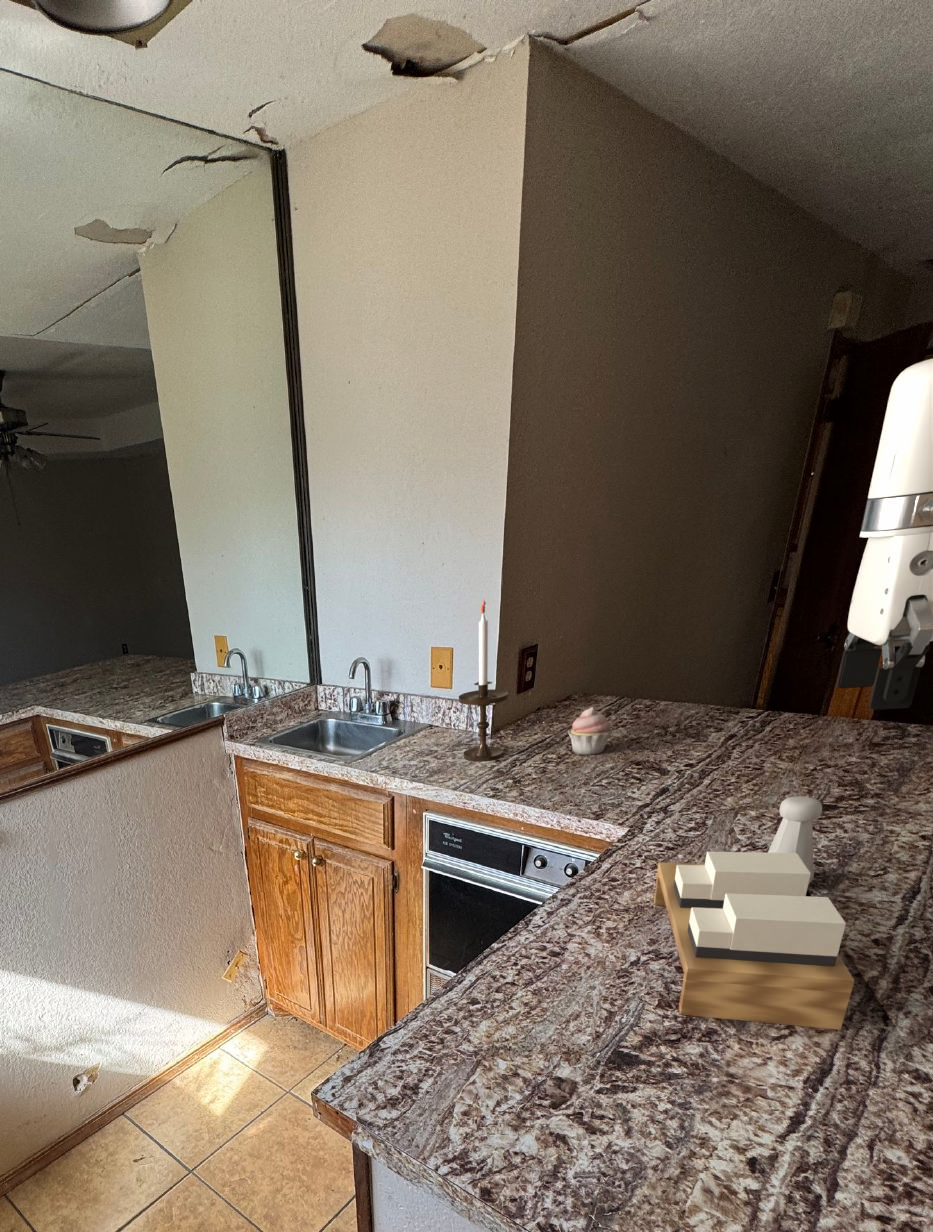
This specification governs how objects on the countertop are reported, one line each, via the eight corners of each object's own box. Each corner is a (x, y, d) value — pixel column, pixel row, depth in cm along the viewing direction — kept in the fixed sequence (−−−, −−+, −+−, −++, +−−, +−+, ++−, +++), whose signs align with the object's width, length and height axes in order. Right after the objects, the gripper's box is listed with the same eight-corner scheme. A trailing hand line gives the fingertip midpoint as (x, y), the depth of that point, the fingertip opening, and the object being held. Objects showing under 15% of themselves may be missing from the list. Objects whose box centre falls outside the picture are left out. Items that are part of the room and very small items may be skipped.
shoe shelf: (774, 906, 90) (783, 865, 87) (840, 1030, 69) (855, 980, 66) (653, 901, 95) (658, 862, 93) (680, 1014, 74) (687, 968, 71)
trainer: (788, 890, 82) (797, 852, 80) (802, 913, 77) (811, 873, 75) (673, 886, 86) (678, 850, 84) (679, 907, 82) (684, 870, 80)
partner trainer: (817, 938, 73) (828, 896, 71) (834, 966, 68) (846, 923, 66) (687, 931, 77) (693, 892, 75) (695, 957, 73) (701, 916, 71)
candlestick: (510, 760, 158) (513, 597, 143) (461, 764, 160) (459, 604, 145) (503, 747, 168) (506, 593, 152) (457, 751, 170) (455, 600, 155)
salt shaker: (754, 878, 97) (772, 791, 91) (805, 881, 94) (826, 791, 89) (760, 897, 92) (778, 806, 87) (813, 901, 90) (835, 808, 84)
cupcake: (608, 757, 150) (611, 712, 146) (562, 756, 155) (565, 712, 151) (614, 745, 157) (618, 701, 153) (570, 744, 162) (573, 702, 158)
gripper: (1017, 507, 56) (955, 715, 64) (925, 507, 71) (883, 677, 78) (901, 522, 59) (855, 719, 67) (835, 519, 73) (803, 682, 81)
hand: (870, 696), depth 72 cm, fingers open, 9 cm apart
